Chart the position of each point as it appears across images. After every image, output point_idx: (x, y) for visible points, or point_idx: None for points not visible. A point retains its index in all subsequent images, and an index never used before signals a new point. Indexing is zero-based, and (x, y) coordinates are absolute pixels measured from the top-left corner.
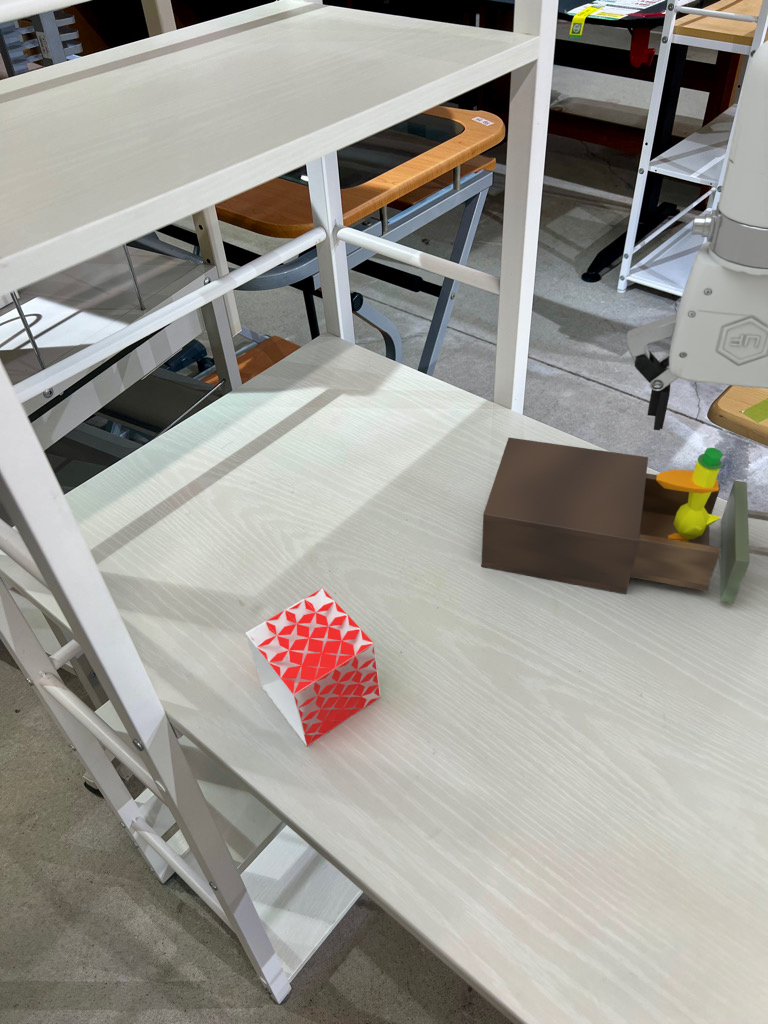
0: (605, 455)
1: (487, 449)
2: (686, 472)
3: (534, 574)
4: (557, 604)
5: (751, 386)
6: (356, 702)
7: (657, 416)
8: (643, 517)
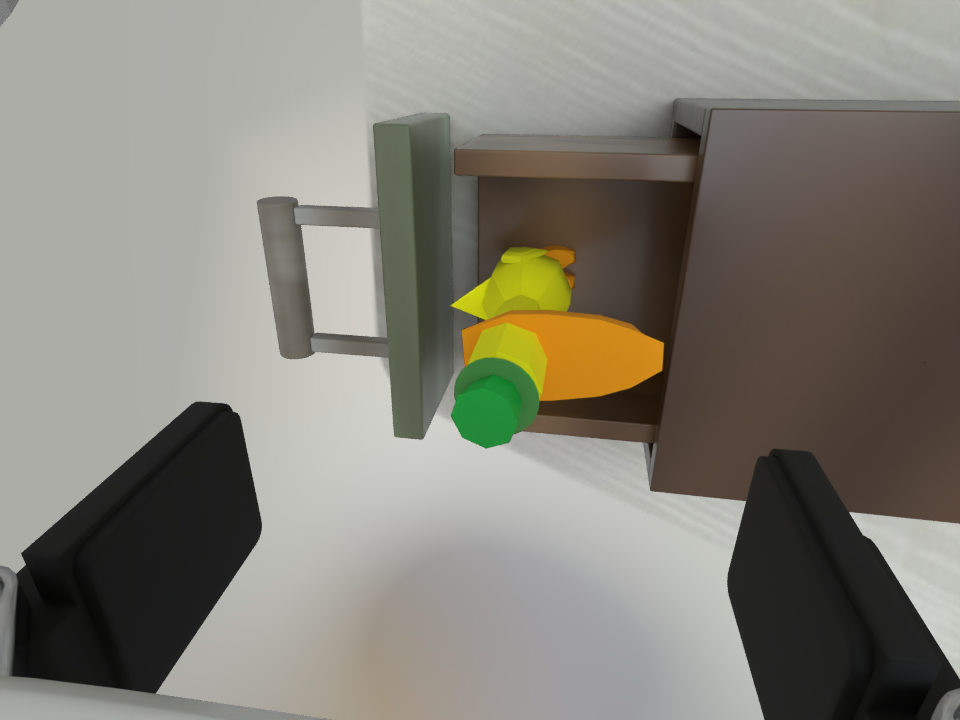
0: None
1: None
2: (563, 388)
3: (943, 101)
4: (876, 5)
5: (185, 710)
6: None
7: (840, 507)
8: None
